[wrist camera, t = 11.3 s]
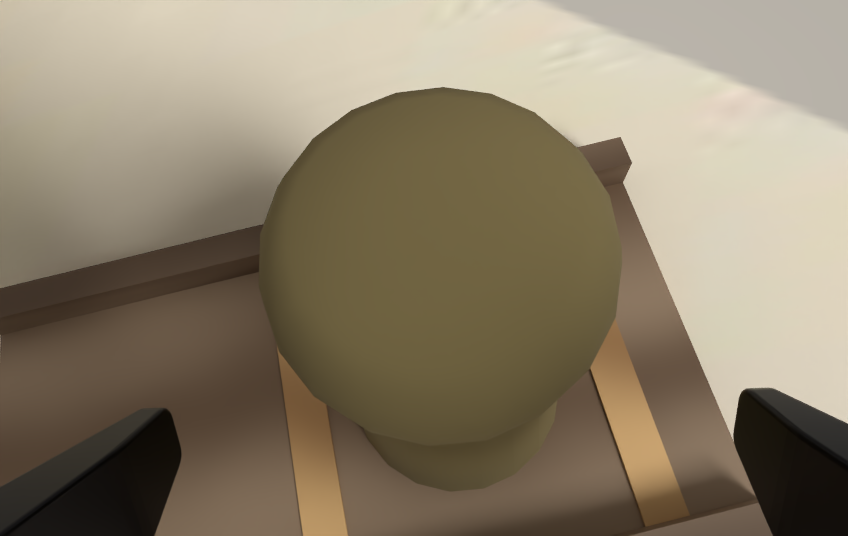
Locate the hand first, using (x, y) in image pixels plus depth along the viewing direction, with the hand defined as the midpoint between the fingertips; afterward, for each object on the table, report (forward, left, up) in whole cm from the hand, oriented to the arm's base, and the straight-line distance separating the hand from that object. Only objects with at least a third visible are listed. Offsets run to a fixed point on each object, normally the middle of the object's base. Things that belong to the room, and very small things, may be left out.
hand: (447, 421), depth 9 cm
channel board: (+2, +3, -8) cm, 9 cm away
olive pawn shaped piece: (+2, 0, -8) cm, 8 cm away
